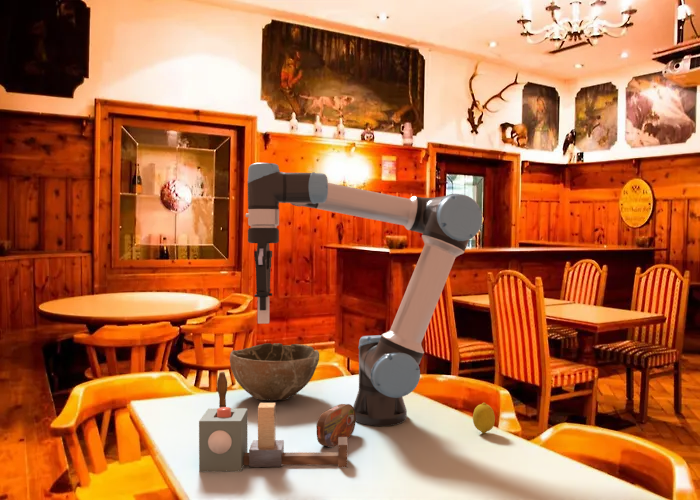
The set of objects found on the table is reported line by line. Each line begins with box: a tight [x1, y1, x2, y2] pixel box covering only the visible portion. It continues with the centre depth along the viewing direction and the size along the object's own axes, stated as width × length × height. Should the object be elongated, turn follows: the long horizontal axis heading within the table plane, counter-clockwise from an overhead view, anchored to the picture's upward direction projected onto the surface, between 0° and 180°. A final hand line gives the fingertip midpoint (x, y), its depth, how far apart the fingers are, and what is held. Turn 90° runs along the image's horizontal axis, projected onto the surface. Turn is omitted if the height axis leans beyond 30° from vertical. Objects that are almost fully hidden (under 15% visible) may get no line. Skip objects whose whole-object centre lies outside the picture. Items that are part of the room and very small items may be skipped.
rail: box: [243, 437, 348, 468], centre depth 132 cm, size 23×5×5 cm, turn 91°
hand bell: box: [216, 371, 228, 408], centre depth 150 cm, size 8×8×16 cm
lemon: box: [472, 402, 496, 434], centre depth 152 cm, size 6×6×8 cm
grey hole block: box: [198, 407, 248, 473], centre depth 131 cm, size 9×9×11 cm
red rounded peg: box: [216, 406, 232, 417], centre depth 131 cm, size 3×3×8 cm
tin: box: [316, 403, 357, 448], centre depth 146 cm, size 15×3×8 cm, turn 149°
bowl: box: [229, 342, 320, 402], centre depth 182 cm, size 28×27×15 cm
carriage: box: [248, 402, 285, 468], centre depth 132 cm, size 7×6×13 cm
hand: (263, 322), depth 145 cm, fingers closed
